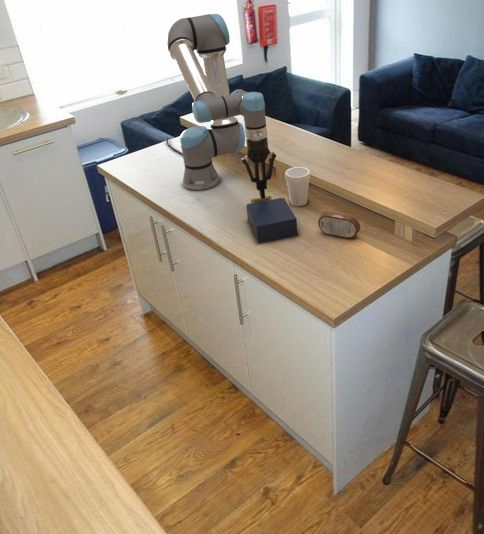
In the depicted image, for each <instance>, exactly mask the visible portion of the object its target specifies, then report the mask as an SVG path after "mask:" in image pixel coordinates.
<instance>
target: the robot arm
mask: <svg viewBox="0 0 484 534" xmlns="http://www.w3.org/2000/svg"><path fill="white" fill-rule="evenodd" d="M230 41H231V40H230V32H229V28H228V26H227V23H226V21H225V19H224V18H223V16H222V15H220V14H219V13H207V14H201V15H195V16H190V17H182V18H179V19H178V20H176V21H174V23H173V24H172V25H171V26H170V28H169V30H168V32H167V36H166V49H167V52H168V54H169V57H170V58H171V59H172V60H174V61H175V63H176V65H177V67H178V69H179V71H180V74H181V75H182V78H183V79H184V82H185V84H186V86H187V88H188V90H189V93H190V94H191V96H192V99H193V102H192V104H191V109H192V110H191V111H192V114H193V118H194V121H196V122H197V123H199V124H205V123H209V126H210V128H207V126H205V125H196V126H195V125H194V126H192V127H189V128H187V129H185V130H183V131H182V133H181V134H180V136H179V143H180V149H181V151H180V150H178V149H176V148H175V147H173V146H172V145H171V144H170V143H169V137H166V144H167V146H168V147H169V148H170V149H171V150H173V151H175V152H177V153H178V154H180V155H182V160H183V164H184V171H183V178H182V183H183V186H184V188H186V189H187V190H190V191H191V190H192V191H203V190H209V189H211V188H215V186H216V185H218V184H219V182H220V177H219V173H218V172H217V169H216V168H215V166H214V164H213V160H212V158H217V157H220V156H221V157H222V156H224V155H228V154H229V155H230V154H234V153H237V152H241V151H242V150H243V149H244V147H245V145H246V147H247V148H246V150H247V151H246V155H245V156H244V157H243V156H242V157H241V158H240V160H241V162H242V163H243V164H244V166H245V170H246V171H247V174H248V176H249V179H250V181H251V183H255V187H256V190H257V191H259V198H260V197H261V199H264V198H265V196H266V191H265V190H267V189H268V183H267V182H268V181H269V180H272V175H273V169H274V163H275V160H276V158H277V154H276V153H275V152H274V151H271V150H270V149H269V142H268V131H267V130H268V129H267V119H266V103H265V99H264V95H263V93H262V92H257V91H249V92H248V91H245V90H244V89H235V90H234V91H233V92H230V86H229V81H228V75H227V68H226V64H225V57H224V55H225V53H226V51H227V46H228V45H229V44H230ZM195 51H196V53H195ZM197 56H198V57H200V58H201V61H202V65H201V64H200V61H199V59H198V57H197ZM202 67H203V68H202ZM238 116H242V117H243V121H244V125H243V124H242V123H241V122H240V121H239V120H238V118H237V117H238ZM268 157H269V158H268ZM267 159H268V163H267V169H266V160H267ZM249 161H251V162H252V163H253V172H254V173H253V172H252V169H251V167H250V164H249ZM259 163H260V165H259ZM259 166H260V169H259ZM260 171H261V178H260Z"/></svg>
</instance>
